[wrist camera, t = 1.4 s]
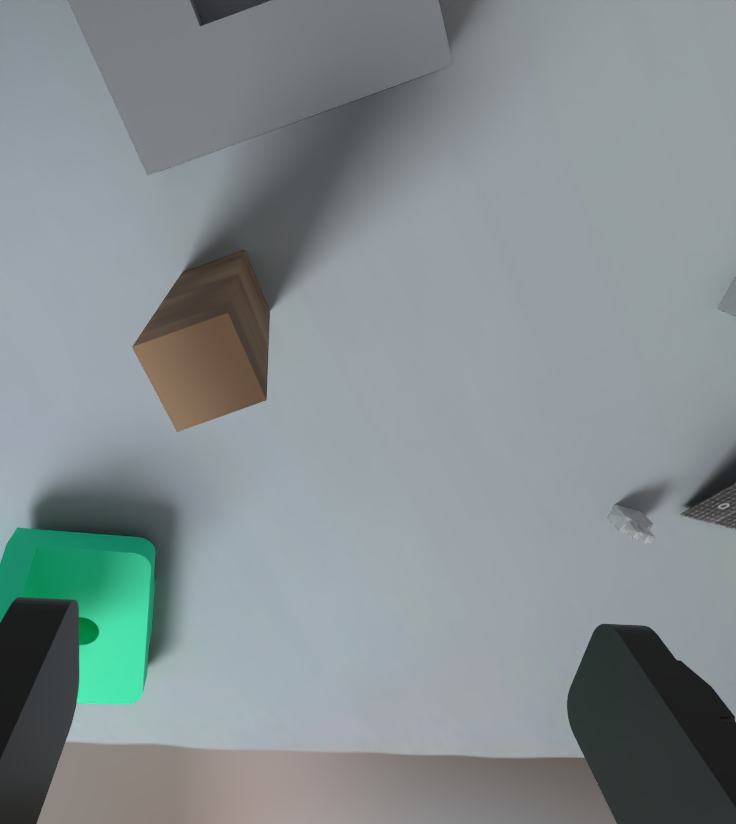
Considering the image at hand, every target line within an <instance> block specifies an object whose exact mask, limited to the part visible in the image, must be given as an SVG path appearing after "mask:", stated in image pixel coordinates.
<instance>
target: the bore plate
mask: <svg viewBox="0 0 736 824" xmlns="http://www.w3.org/2000/svg"><path fill="white" fill-rule="evenodd" d="M68 2H69V4H70V6H71V8H72V11H73V13H74V15H75V17H76V19H77V21H78V24H79V26H80V28H81V30H82V32H83V35H84V37H85V39H86V41H87V43H88V46H89V48H90V50H91V52H92V54H93V57H94V59H95V61H96V63H97V65H98V68H99V70H100V72H101V74H102V76H103V79H104V81H105V83H106V85H107V87H108V90H109V92H110V94H111V96H112V98H113V101H114V103H115V105H116V107H117V109H118V111H119V114H120V116H121V118H122V120H123V122H124V125H125V127H126V129H127V131H128V133H129V136H130V138H131V140H132V142H133V144H134V147H135V149H136V151H137V153H138V155H139V158H140V160H141V162H142V164H143V166H144V169H145V171H146V173H147V175H150V174H153V173H156V172H159V171H162V170H164V169H167V168H170V167H173V166H175V165H178V164H181V163H184V162H186V161H189V160H192V159H195V158H197V157H200V156H203V155H206V154H208V153H211V152H214V151H217V150H220V149H222V148H225V147H228V146H231V145H233V144H236V143H239V142H242V141H244V140H247V139H250V138H253V137H255V136H258V135H261V134H264V133H267V132H269V131H272V130H275V129H278V128H280V127H283V126H286V125H289V124H291V123H294V122H297V121H300V120H302V119H305V118H308V117H311V116H313V115H316V114H319V113H322V112H325V111H327V110H330V109H333V108H336V107H338V106H341V105H344V104H347V103H349V102H352V101H355V100H358V99H360V98H363V97H366V96H369V95H372V94H374V93H377V92H380V91H383V90H385V89H388V88H391V87H394V86H396V85H399V84H402V83H405V82H407V81H410V80H413V79H416V78H418V77H421V76H424V75H427V74H430V73H432V72H435V71H438V70H440V69H443V68H446V67H448V66H451V65H453V61H452V57H451V52H450V48H449V43H448V39H447V35H446V30H445V26H444V21H443V17H442V12H441V8H440V4H439V0H271V1H268V2H265V3H263V4H260V5H257V6H254V7H252V8H249V9H246V10H243V11H241V12H238V13H235V14H233V15H230V16H227V17H224V18H222V19H219V20H216V21H213V22H211V23H208V24H205V25H203V24H202V21H201V19H200V16H199V13H198V11H197V8H196V5H195V3H194V0H68Z"/></svg>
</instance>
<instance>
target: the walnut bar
mask: <svg viewBox="0 0 736 824" xmlns="http://www.w3.org/2000/svg"><path fill="white" fill-rule="evenodd" d="M269 319H270V311H269V308H268V306H267V303H266V301H265V299H264V296H263V294H262V291H261V289H260V286H259V284H258V281H257V279H256V277H255V274H254V272H253V269H252V267H251V264H250V262H249V259H248V257H247V255H246V252H245V250H244V251H241V252H238V253H236V254H233V255H230V256H227V257H224V258H222V259H219V260H216V261H213V262H211V263H208V264H205V265H202V266H199V267H197V268H194V269H191V270H188V271H185V272H183V273H182V274H181V275H180V277H179V278H178V280H177V281H176V283H175V284H174V286H173V287H172V288H171V290H170V291H169V293H168V294H167V296H166V297H165V299H164V300H163V302H162V303H161V305H160V306H159V308H158V309H157V311H156V312H155V314H154V315H153V317H152V318H151V320H150V321H149V323H148V324H147V326H146V327H145V329H144V330H143V332H142V333H141V335H140V336H139V338H138V339H137V341H136V342H135V344H134V345H133V347H132V348H133V350H134V351H135V353H136V355H137V357H138V359H139V361H140V363H141V365H142V367H143V368H144V370H145V372H146V374H147V376H148V378H149V380H150V382H151V384H152V385H153V387H154V389H155V391H156V393H157V395H158V397H159V399H160V401H161V402H162V404H163V406H164V408H165V410H166V412H167V414H168V416H169V418H170V419H171V421H172V423H173V425H174V427H175V429H176V431H177V432H178V431H181V430H184V429H187V428H190V427H192V426H195V425H198V424H201V423H204V422H206V421H209V420H212V419H215V418H218V417H220V416H223V415H226V414H229V413H232V412H234V411H237V410H240V409H243V408H246V407H248V406H251V405H254V404H257V403H260V402H263V401H265V400H266V398H267V372H268V346H269Z"/></svg>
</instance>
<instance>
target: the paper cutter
mask: <svg viewBox="0 0 736 824" xmlns="http://www.w3.org/2000/svg"><path fill="white" fill-rule="evenodd" d="M717 309H718V310H721V311H723V312H726V313H728V314H731V315H733V316H736V276H735V278H734V280H733V281H732V283H731V285H730V287H729V289H728V290H727V292H726V294H725V296H724V297H723V299H722V301H721V303H720V305H719V306H718V308H717ZM681 516H685V517H689V518H693V519H697V520H701V521H705V522H708V523H712V524H717V525H720V526H724V527H728V528H732V529H736V482H735V483H733V484H732V485H730V486H728V487H727V488H725V489H723V490H721V491H720V492H718V493H716V494H714V495H713V496H711V497H709V498H708V499H706V500H704V501H702V502H701V503H699V504H697V505H695V506H694V507H692V508H690V509H689V510H687V511H685V512H683V513H682V514H681ZM607 518H608V519H609V520H610V522H611V523H612V524H613V525H614V526H615V527H616V529H617V530H618V531H621V532H626V533H628V534H629V535H630V537H631V538H632V539H635V540H639V539H640V538H641V540H642V541H643V542H644V543H649V544H651V542H652V541H653V539H654V538H655V536H654V535H653V534H652V533H651V532H650V531H649V530H650V528H651V526H652V525H653V523H652V522H651V521H650V520H649V519H648V518H647V517H646V516H645V515H644V514H643V513H642V512H641V511H639V510H635V509H631V508H627V507H623V506H619V505H614V507H613V508H612V510H611V512H610V514H609V515H608V517H607Z"/></svg>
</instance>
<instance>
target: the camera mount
mask: <svg viewBox="0 0 736 824" xmlns="http://www.w3.org/2000/svg"><path fill="white" fill-rule="evenodd" d="M155 556H156V550H155V547H154V545H153V544H152V543H151V542H150V541H148V540H147V539H144V538H141V537H131V536H118V535H105V534H92V533H79V532H66V531H53V530H40V529H27V528H17V529H16V531H15V532H14V534H13V535H12V537H11V538H10V540H9V541H8V543H7V545H6V548H5V551H4V554H3V557H2V560H1V563H0V622H1V621H2V619H3V617H4V615H5V614H6V612H7V610H8V608H9V607H10V605H11V604H12V602H13V601H14V600H15V599H16V598H18V597H29V598H49V599H70V600H76V601H77V602H78V607H79V689H78V697H77V703H80V704H121V705H126V704H132V703H135V702H136V701H138V700H139V699H140V698H141V696H142V693H143V689H144V685H145V681H146V677H147V667H148V654H149V643H150V639H151V635H152V624H153V610H154V596H155V583H156V578H154V570H155Z"/></svg>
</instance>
